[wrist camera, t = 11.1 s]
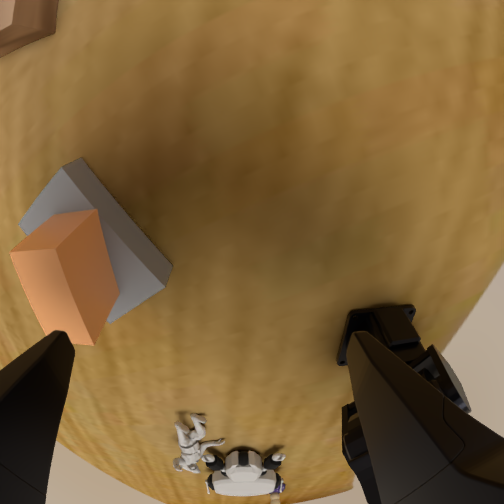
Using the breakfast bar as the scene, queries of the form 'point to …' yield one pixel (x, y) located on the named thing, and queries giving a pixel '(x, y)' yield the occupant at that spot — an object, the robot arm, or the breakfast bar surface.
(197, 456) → the white plastic figure
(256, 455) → the robot toy
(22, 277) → the orange brick
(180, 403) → the breakfast bar surface
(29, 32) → the walnut brick
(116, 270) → the grey brick
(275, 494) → the toy lamp
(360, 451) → the robot arm
